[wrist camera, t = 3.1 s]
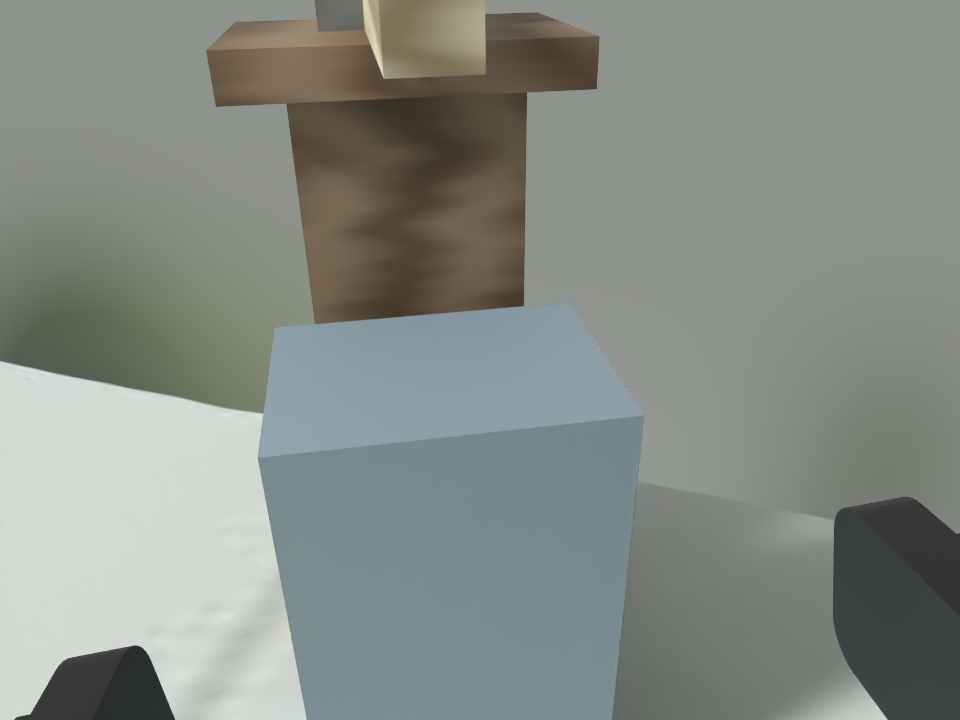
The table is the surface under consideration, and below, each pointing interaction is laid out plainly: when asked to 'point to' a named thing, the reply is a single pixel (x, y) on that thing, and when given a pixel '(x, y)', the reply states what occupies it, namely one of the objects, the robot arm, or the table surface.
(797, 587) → the table surface
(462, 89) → the walnut stand
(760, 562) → the table surface
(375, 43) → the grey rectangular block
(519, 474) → the slate pedestal
